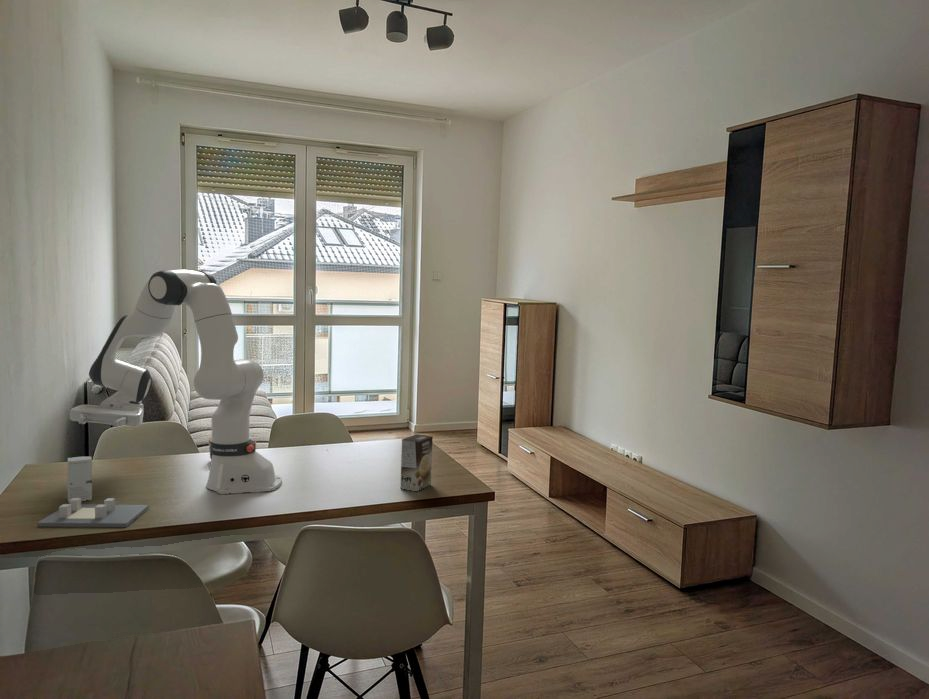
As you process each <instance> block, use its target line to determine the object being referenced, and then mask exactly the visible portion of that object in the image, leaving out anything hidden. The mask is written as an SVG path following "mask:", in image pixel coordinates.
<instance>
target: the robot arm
mask: <svg viewBox="0 0 929 699" xmlns="http://www.w3.org/2000/svg"><path fill="white" fill-rule="evenodd" d="M176 306H188V307H189V308H190V309H191V312H192V315H193V316H192V317H193V319H194V320H193V321H194V323H195V328H196V332H197V335H198V339H199V343H200V344H199V345H200V352H201V353H200V364H199V365H200V366H199V368H198V370H197V371H196V373H195V374H194V378H193V388H194V390H195V392H196V394H198V396H200V398H202V399H204V400H212V401H213V400H214V401H215V400H216V401H219V400H220V401H219V402H218V406H217V408H216V410H215V411H214V413H212V416H211V422H210V423H211V438H212V441H211V442H210V450H209V457H210V468H209V475H208V478H207V482H206V485H205V487H206V488H207V489H209V490H211V491H215V492H216V493H217V494H219V495H227V494H229V493H231V494H244V493H243V492H251V493H260V492H259V491H269V492H272V491H271V490H273V491H274V489H275V490H276V488H277V487H278V488H279V487H280V486H281V485H282V482H283V481H282V480H283V479H282V477H281V476H280V475H275V474H276V472H275V468H274V465H273V463H272V461H270V460H269V459H267V458H266V457H264V456H263V455H261V454H260V453H258V452H257V451H256V450H257V448H256V446H257V441H256V440H255V441H253V440H252V439H250V416H251V411H252V406H253V402H254V399H255V395H256V394H257V391H258V389H259V388H260V387H261V385H262V383H263V381H264V370H263V367H262V366H261V365H260V364H259V363H258V362H257V361H254V360H250V359H241V358H240V359H236V360H235V359H234V352H235V350H234V349H235V345H236V344H237V343H238V340H239V334H238V331H237V327H236V324H235V321H234V320H235V319H234V317H233V313H232V312H233V311H232V309H231V306H230V303H229V301H228V299H227V296H226V294H225V292H224V291H223V288H222V287H221V286H220V285H218V283H217V280H216V279H215V277H214V276H213V275H212V274H211V273H209V272H207V271H204V270H191V269H184V268H183V269H182V268H180V269H178V268H177V269H162V270H159V271H156V272H154V273H153V274H152V275H151V276H150V278H149V279H148V280H147V281H146V283H145V284H144V286H143V287H142V290H141V292H140V293H139V296H138V299H137V301H136V305H135V307H134V310H133V311H132V312H131V313H130V314H126V315H123V316H121V318H119V320H118V322H116V324H114V325H115V326H114V327H113V329H112V330H111V332H110V334H109V336H108V338H107V340H106V341H105V343H104V345H103V347H102V348H101V351H100V352H99V354H98V356H97V357H96V359H95V360H94V361H93V363H92V364H91V366H90V368H89V372H88V376H89V378H90V380H91V382H92V384H94V385H95V386H100V387H104V388H108V389H111V390H114V391H116V392H114V393H113V394H112V395H110V396H108V397H107V398H106V399H104V400H103V401H102V402H101V403H100V404H99V405H97V404H96V405H94V404H80V405H76V406H74V407H73V408H70V410H69V420H70V421H72V422H78V424H79V425H80V424H81V425H85V424H86V423H93V424H95V423H96V424H105V425H111V426H112V427H113V428H114V427H115V428H116V427H117V428H118V427H119V426H120V427H121V426H128V427H140V426H141V425H142V424H143V421H144V419H143V418H144V412H145V411H144V410H145V408H144V406H145V405H144V403H142V402H143V400H145V399H146V398H147V396H148V394H149V392H150V390H151V387H152V384H153V379H152V375H151V373H150V371H149V370H148V369H146V368H144V367H141V366H139V365H138V366H137V365H135V364H132V363H129V362H126V361H122V360H120V359H118V358H117V357H116V355H117V353H118V352H119V349H120V348H121V346H122V344H123V342H124V340H125V339H126V338H134V337H136V338H137V337H138V338H149V337H155V336H159V335H161V334H162V333H164V332H165V331H166V330H167V329H168V328H169V325H170V323H171V320H172V317H173V314H174V312H175V308H176ZM278 488H277V489H278ZM229 495H230V494H229Z"/></svg>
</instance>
